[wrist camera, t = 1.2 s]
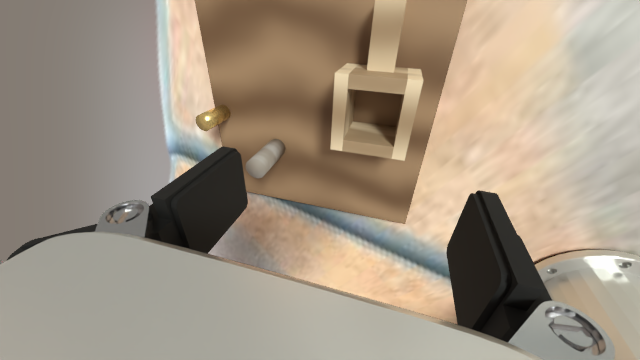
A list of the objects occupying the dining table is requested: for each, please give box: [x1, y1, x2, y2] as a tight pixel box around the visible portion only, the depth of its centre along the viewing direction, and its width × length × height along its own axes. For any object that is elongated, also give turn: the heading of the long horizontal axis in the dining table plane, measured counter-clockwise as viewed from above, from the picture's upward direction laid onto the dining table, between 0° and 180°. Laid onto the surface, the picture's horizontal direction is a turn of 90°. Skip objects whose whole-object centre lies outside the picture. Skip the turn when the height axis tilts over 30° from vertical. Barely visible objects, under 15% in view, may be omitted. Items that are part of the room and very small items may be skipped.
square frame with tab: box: [330, 0, 423, 161], centre depth 20 cm, size 10×6×4 cm, turn 178°
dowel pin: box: [196, 105, 231, 131], centre depth 27 cm, size 2×2×4 cm
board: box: [195, 0, 467, 224], centre depth 24 cm, size 22×22×6 cm
